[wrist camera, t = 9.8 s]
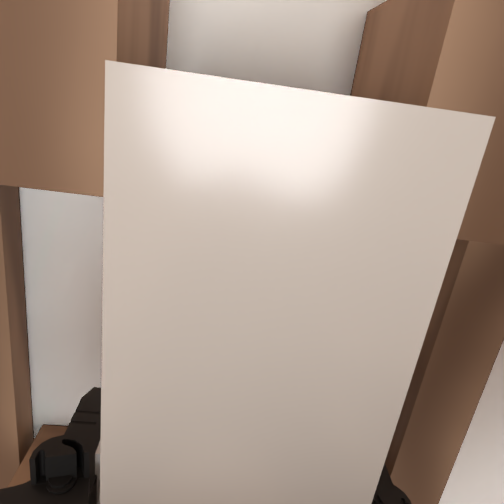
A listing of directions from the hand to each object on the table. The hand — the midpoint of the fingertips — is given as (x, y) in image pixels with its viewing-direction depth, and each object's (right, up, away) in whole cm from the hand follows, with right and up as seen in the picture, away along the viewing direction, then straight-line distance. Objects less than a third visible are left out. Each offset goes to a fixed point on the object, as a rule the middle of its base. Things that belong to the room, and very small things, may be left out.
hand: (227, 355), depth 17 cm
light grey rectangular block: (0, 0, +1) cm, 1 cm away
